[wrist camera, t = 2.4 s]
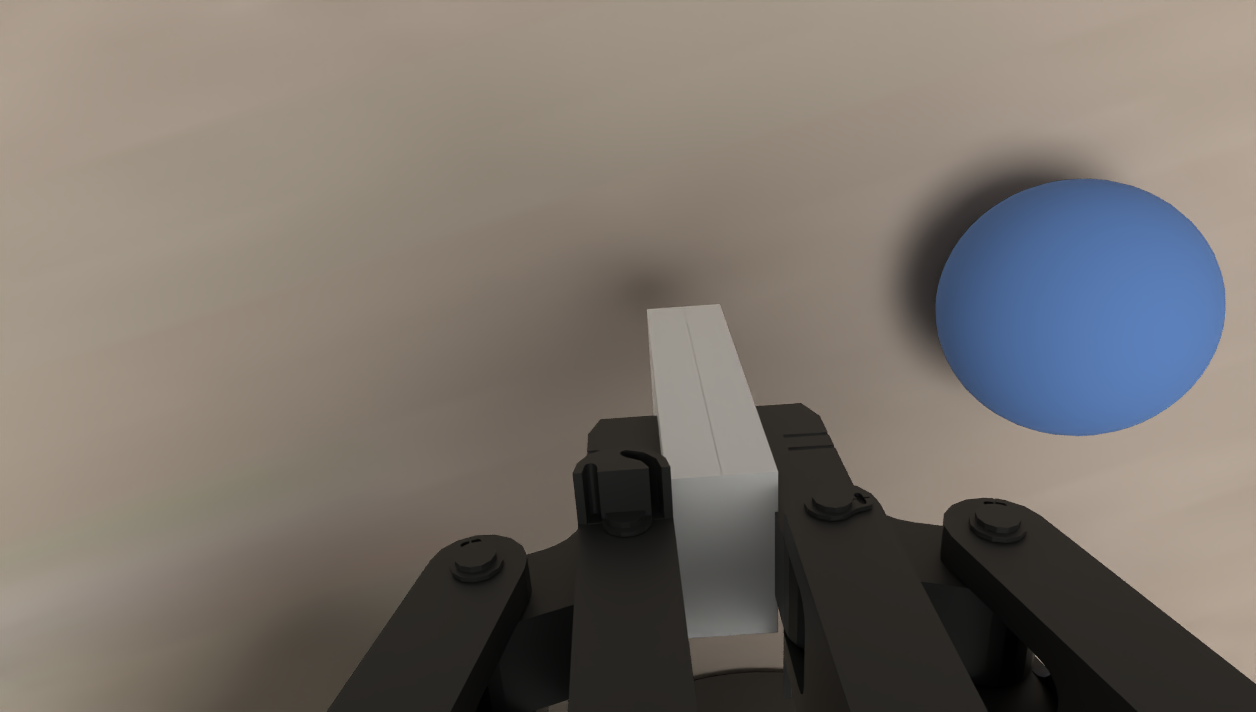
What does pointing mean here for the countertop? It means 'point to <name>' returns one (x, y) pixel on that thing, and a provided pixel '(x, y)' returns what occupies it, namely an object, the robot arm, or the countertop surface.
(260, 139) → the countertop surface
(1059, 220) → the ball
